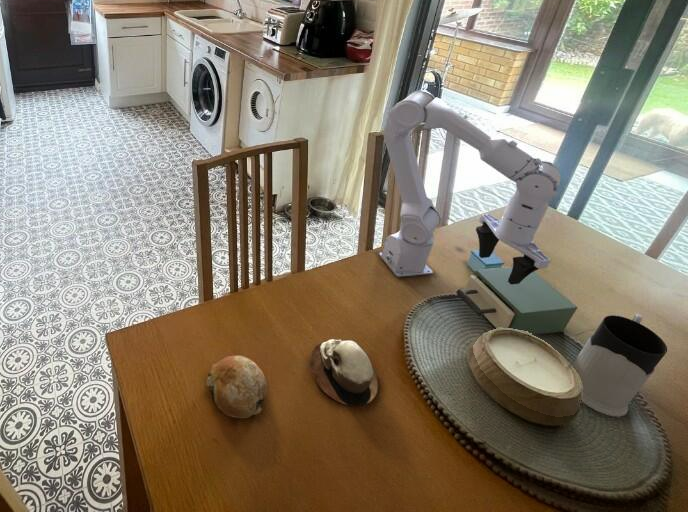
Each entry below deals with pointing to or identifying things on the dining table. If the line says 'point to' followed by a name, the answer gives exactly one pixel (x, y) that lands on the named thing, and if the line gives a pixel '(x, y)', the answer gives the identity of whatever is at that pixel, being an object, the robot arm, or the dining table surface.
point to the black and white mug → (617, 363)
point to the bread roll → (237, 386)
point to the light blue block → (484, 261)
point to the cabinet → (530, 301)
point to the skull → (344, 372)
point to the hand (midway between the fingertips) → (498, 269)
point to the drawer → (487, 302)
